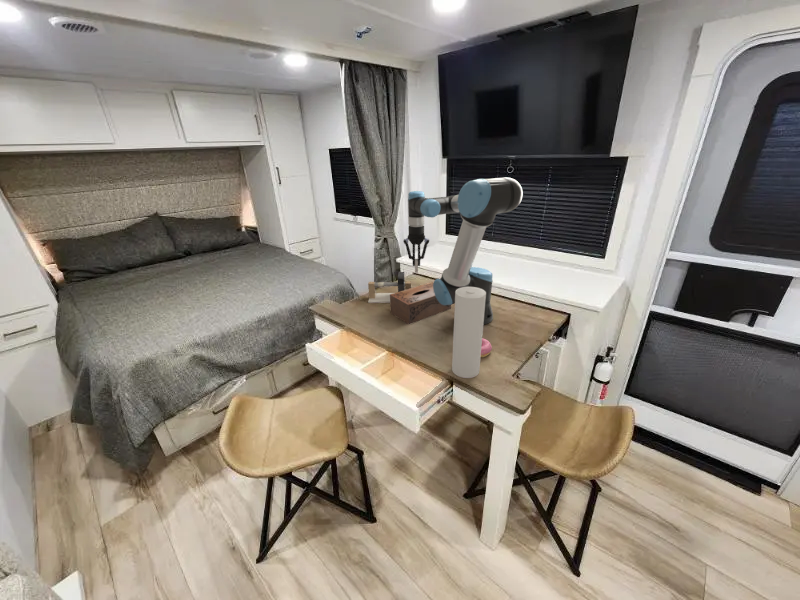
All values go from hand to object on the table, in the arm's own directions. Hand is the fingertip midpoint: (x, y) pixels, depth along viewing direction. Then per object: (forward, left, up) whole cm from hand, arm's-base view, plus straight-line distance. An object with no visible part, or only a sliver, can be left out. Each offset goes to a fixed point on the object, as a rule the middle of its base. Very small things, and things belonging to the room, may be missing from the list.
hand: (416, 271), depth 167 cm
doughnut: (-50, -23, -15) cm, 57 cm away
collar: (0, +8, -12) cm, 14 cm away
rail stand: (0, +14, -15) cm, 20 cm away
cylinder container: (-62, -17, -15) cm, 66 cm away
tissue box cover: (-15, -2, -15) cm, 22 cm away
